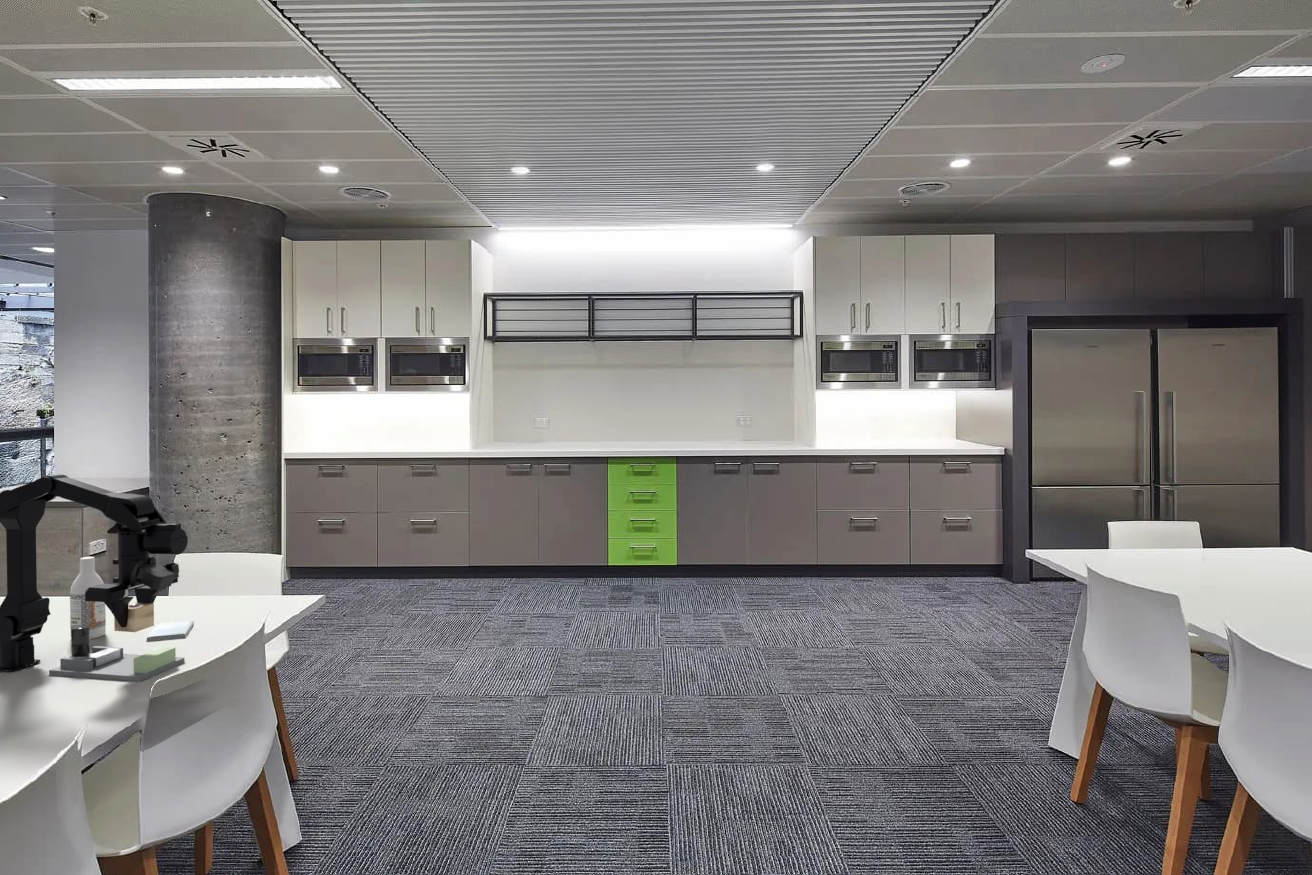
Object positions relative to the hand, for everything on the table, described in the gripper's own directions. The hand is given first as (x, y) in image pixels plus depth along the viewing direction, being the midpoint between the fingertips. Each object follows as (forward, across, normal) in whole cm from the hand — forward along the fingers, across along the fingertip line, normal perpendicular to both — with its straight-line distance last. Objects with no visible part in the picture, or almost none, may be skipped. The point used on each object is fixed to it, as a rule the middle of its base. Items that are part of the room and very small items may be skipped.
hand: (134, 623), depth 159 cm
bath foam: (+11, +18, +30) cm, 36 cm away
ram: (+9, 0, +11) cm, 14 cm away
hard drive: (+11, +25, +13) cm, 30 cm away
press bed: (+10, 0, +4) cm, 11 cm away
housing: (+1, 0, 0) cm, 1 cm away
